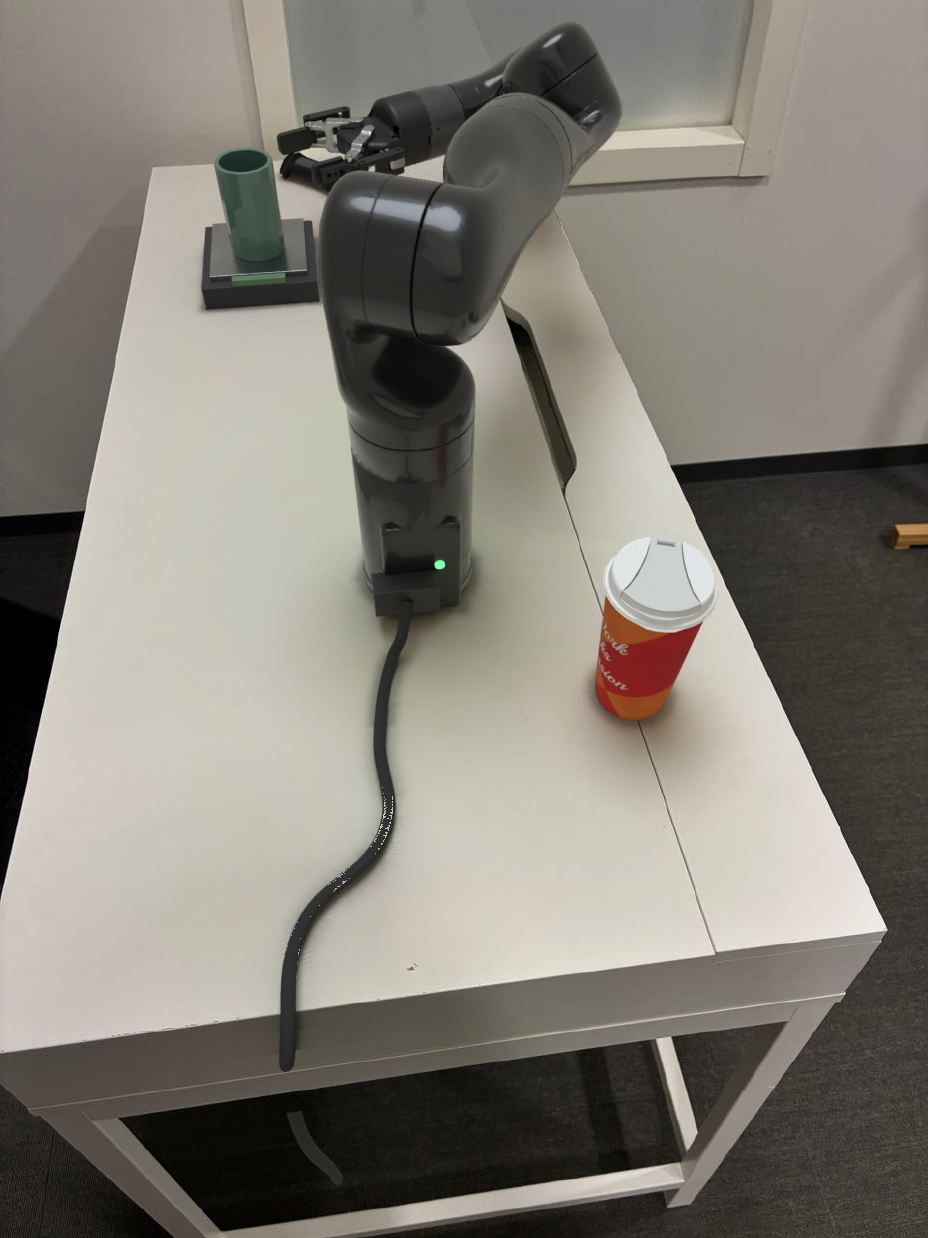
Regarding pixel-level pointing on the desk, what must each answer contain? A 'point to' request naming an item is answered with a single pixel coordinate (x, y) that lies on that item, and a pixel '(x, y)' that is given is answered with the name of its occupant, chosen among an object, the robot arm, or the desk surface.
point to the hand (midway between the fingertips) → (295, 159)
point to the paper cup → (650, 622)
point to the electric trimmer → (300, 168)
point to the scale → (260, 270)
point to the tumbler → (250, 203)
